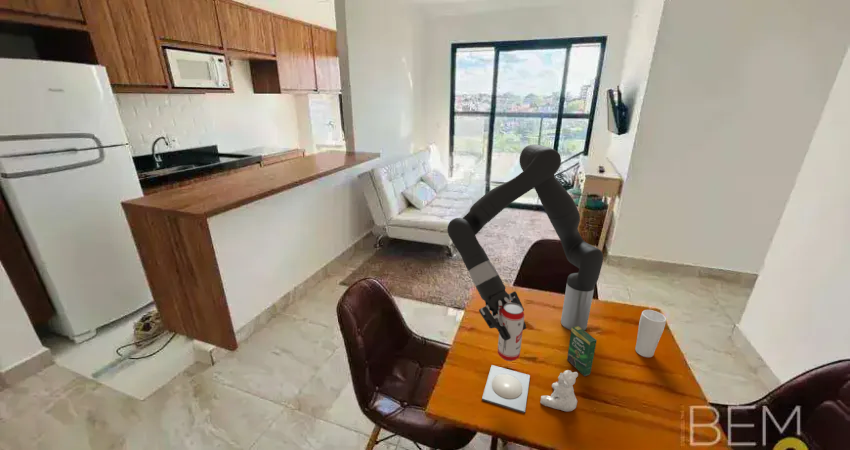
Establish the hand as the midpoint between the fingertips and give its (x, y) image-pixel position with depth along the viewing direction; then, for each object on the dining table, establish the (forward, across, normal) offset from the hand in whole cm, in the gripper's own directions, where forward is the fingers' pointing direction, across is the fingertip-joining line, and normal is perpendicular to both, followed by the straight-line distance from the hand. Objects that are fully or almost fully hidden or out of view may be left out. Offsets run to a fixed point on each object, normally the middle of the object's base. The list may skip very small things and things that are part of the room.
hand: (515, 334), depth 92 cm
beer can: (+5, 0, +7) cm, 9 cm away
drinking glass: (+27, +48, +2) cm, 56 cm away
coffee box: (+20, +25, +9) cm, 33 cm away
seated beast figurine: (+23, +8, +6) cm, 25 cm away
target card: (+14, 0, +15) cm, 20 cm away
